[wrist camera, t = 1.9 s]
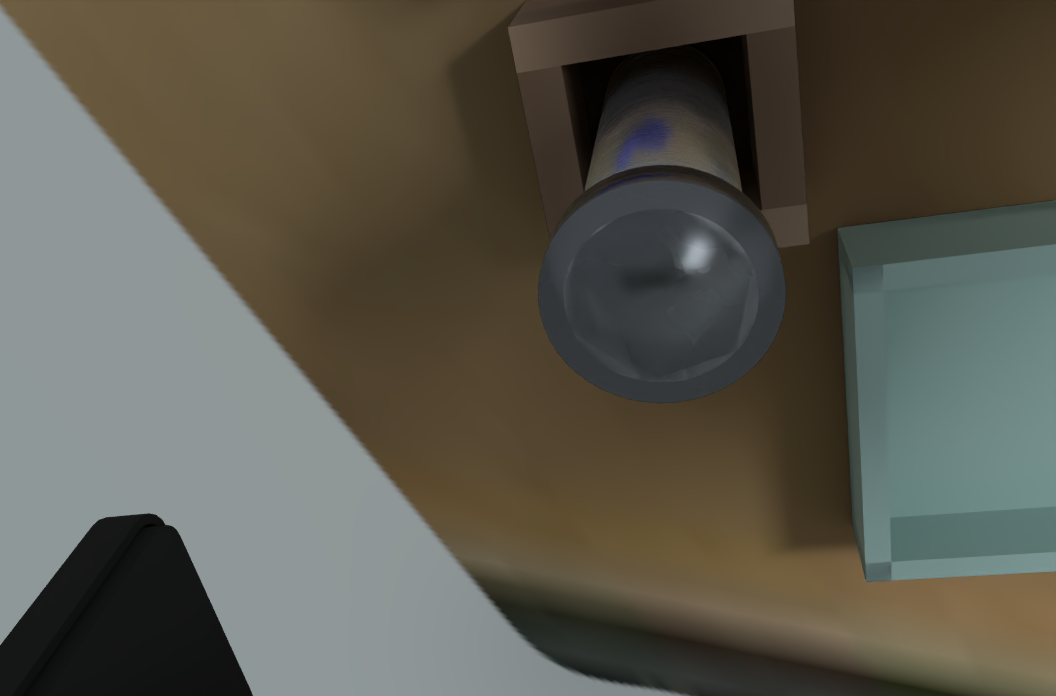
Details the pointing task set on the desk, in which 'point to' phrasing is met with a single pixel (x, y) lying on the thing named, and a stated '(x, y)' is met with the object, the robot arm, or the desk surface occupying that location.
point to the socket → (649, 24)
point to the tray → (952, 392)
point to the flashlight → (663, 243)
